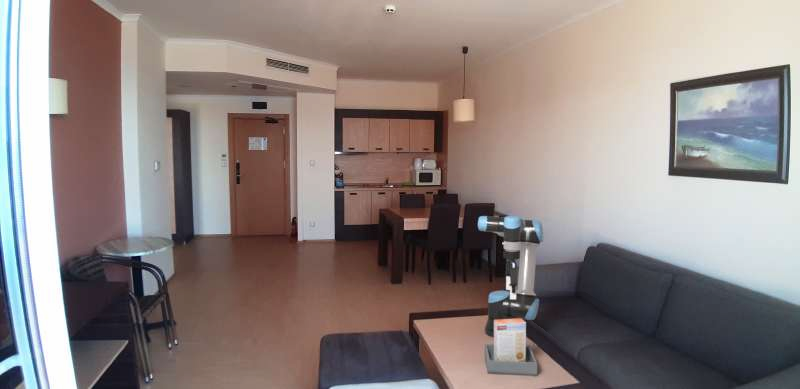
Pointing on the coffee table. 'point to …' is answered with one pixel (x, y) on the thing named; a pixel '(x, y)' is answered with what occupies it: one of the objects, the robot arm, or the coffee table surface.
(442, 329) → the coffee table surface
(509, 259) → the robot arm
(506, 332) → the cracker box
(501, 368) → the pantry crate
